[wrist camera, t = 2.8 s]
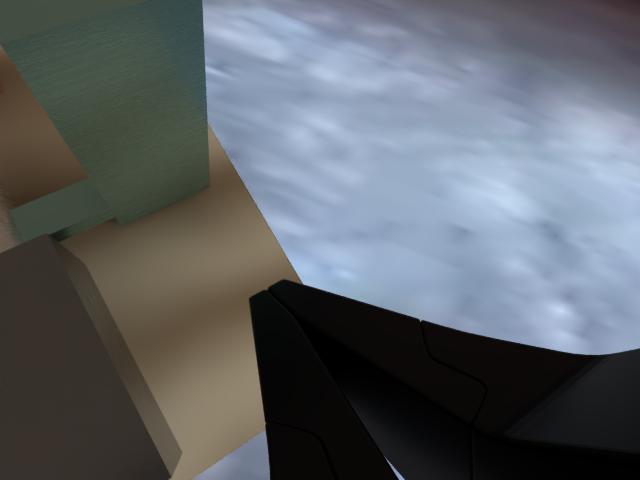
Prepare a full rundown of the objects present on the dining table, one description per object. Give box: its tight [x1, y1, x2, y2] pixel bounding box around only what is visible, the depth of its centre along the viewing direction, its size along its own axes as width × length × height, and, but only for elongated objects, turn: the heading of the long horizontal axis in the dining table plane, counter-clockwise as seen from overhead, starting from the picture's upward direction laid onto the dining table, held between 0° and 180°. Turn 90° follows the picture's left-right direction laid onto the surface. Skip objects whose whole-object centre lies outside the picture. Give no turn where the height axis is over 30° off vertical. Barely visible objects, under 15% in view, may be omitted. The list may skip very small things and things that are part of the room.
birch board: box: [0, 45, 303, 480], centre depth 19 cm, size 22×14×1 cm, turn 31°
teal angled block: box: [0, 0, 210, 253], centre depth 13 cm, size 13×9×11 cm
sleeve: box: [0, 233, 183, 480], centre depth 15 cm, size 8×4×4 cm, turn 31°
